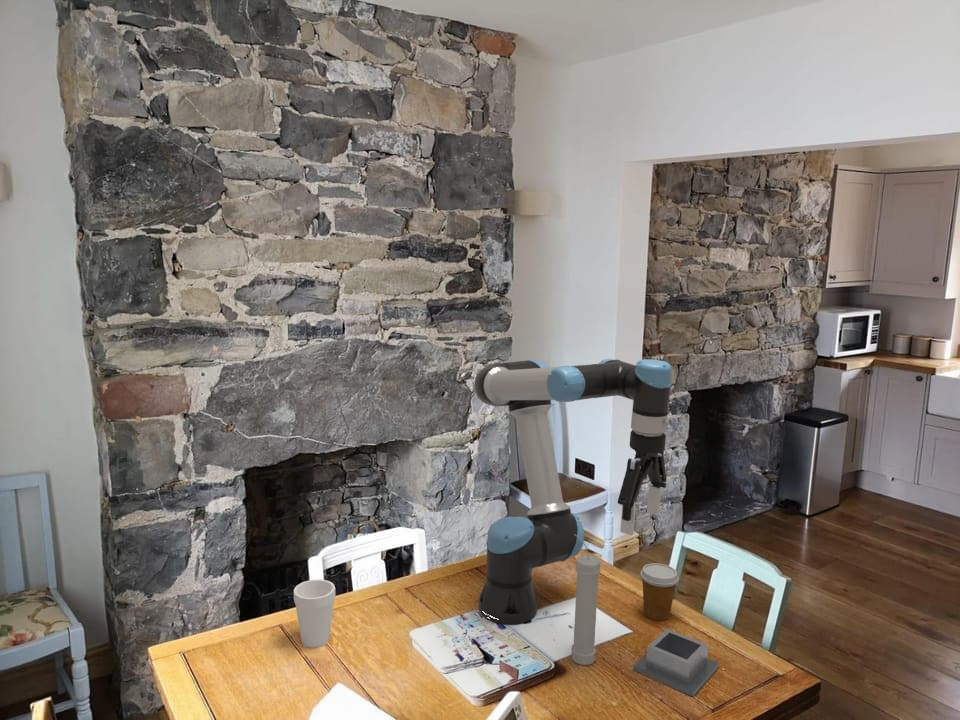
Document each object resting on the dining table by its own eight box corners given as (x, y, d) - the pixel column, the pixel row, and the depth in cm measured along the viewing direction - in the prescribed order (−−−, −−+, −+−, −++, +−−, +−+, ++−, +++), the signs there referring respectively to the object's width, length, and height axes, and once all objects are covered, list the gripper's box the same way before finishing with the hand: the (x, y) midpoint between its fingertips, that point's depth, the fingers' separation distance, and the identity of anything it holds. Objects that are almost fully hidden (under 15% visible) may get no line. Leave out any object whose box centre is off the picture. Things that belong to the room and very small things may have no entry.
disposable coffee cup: (669, 628, 175) (672, 583, 173) (632, 616, 180) (635, 573, 178) (680, 611, 183) (683, 568, 181) (644, 601, 188) (647, 559, 186)
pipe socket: (633, 670, 157) (634, 646, 156) (661, 644, 168) (662, 622, 167) (693, 697, 149) (695, 672, 148) (718, 667, 159) (720, 644, 158)
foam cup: (343, 640, 166) (343, 589, 164) (310, 656, 160) (309, 603, 157) (320, 625, 173) (319, 575, 170) (287, 639, 166) (285, 588, 164)
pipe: (594, 667, 158) (601, 541, 153) (566, 663, 159) (573, 538, 154) (595, 653, 163) (602, 531, 158) (568, 650, 165) (574, 528, 160)
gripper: (640, 448, 140) (631, 547, 144) (686, 423, 160) (677, 511, 164) (606, 440, 145) (598, 536, 149) (655, 417, 164) (647, 502, 169)
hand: (640, 523), depth 157 cm, fingers open, 13 cm apart
